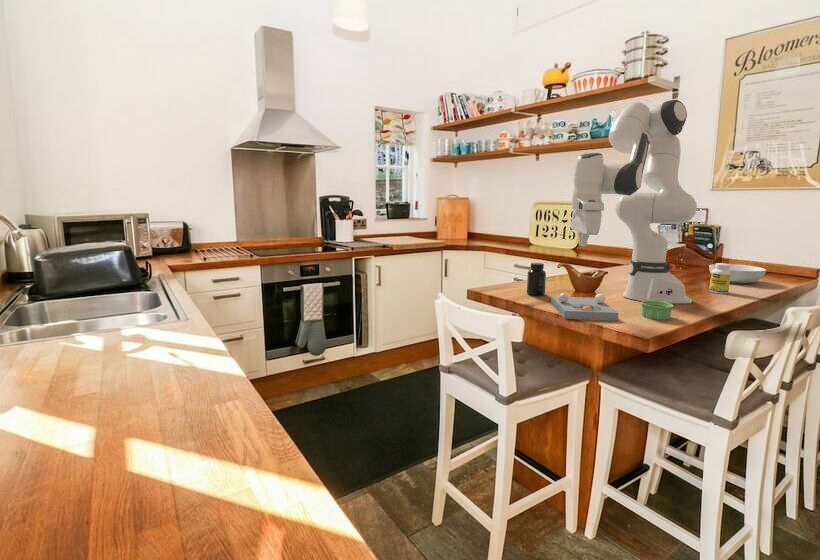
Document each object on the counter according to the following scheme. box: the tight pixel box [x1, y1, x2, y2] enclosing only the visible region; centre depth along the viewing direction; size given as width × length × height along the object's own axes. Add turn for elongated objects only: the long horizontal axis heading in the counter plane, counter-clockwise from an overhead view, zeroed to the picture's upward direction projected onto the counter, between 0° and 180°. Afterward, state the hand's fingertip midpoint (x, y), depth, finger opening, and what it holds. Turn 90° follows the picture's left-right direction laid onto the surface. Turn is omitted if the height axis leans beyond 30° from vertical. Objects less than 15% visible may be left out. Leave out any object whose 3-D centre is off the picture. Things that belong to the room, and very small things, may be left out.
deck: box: [550, 296, 619, 322], centre depth 147 cm, size 20×16×2 cm
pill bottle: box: [708, 262, 731, 295], centre depth 179 cm, size 6×6×12 cm
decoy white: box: [594, 293, 606, 303], centre depth 148 cm, size 3×3×3 cm
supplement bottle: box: [526, 262, 547, 297], centre depth 170 cm, size 7×7×12 cm
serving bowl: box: [708, 263, 767, 285], centre depth 202 cm, size 21×21×7 cm
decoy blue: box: [557, 292, 570, 303], centre depth 148 cm, size 3×3×3 cm
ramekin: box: [640, 301, 674, 321], centre depth 141 cm, size 9×9×4 cm
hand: (582, 246), depth 148 cm, fingers closed
